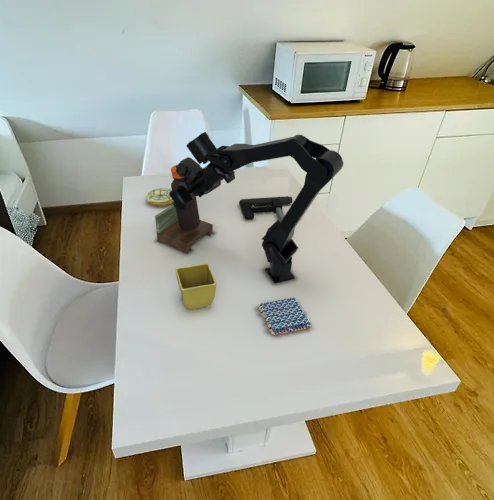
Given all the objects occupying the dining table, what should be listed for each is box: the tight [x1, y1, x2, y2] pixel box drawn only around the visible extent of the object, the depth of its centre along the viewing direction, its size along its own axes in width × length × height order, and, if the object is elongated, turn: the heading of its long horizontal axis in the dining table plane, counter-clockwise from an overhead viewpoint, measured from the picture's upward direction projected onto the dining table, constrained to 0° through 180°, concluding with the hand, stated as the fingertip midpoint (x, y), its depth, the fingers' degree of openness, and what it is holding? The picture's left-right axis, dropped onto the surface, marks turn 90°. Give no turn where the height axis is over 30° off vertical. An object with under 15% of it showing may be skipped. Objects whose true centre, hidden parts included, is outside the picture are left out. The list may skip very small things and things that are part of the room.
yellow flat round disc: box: [145, 187, 174, 208], centre depth 145 cm, size 10×11×4 cm
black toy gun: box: [238, 195, 293, 222], centre depth 140 cm, size 3×20×16 cm
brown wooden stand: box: [154, 204, 214, 254], centre depth 124 cm, size 12×14×10 cm
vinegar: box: [170, 164, 201, 230], centre depth 117 cm, size 7×7×20 cm
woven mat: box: [258, 297, 312, 336], centre depth 97 cm, size 10×11×2 cm
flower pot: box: [174, 263, 217, 311], centre depth 99 cm, size 9×9×9 cm
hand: (181, 201), depth 119 cm, fingers closed on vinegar, 7 cm apart
